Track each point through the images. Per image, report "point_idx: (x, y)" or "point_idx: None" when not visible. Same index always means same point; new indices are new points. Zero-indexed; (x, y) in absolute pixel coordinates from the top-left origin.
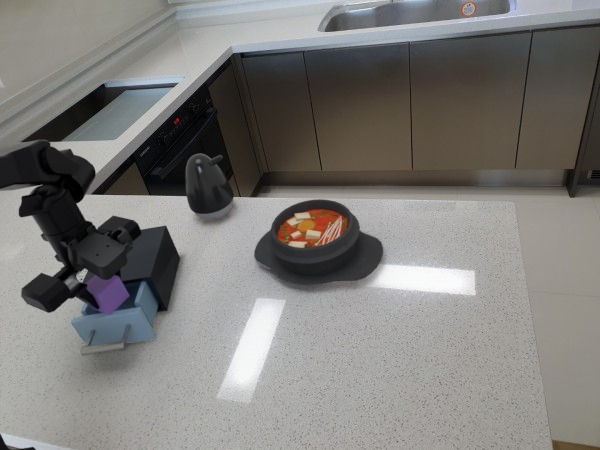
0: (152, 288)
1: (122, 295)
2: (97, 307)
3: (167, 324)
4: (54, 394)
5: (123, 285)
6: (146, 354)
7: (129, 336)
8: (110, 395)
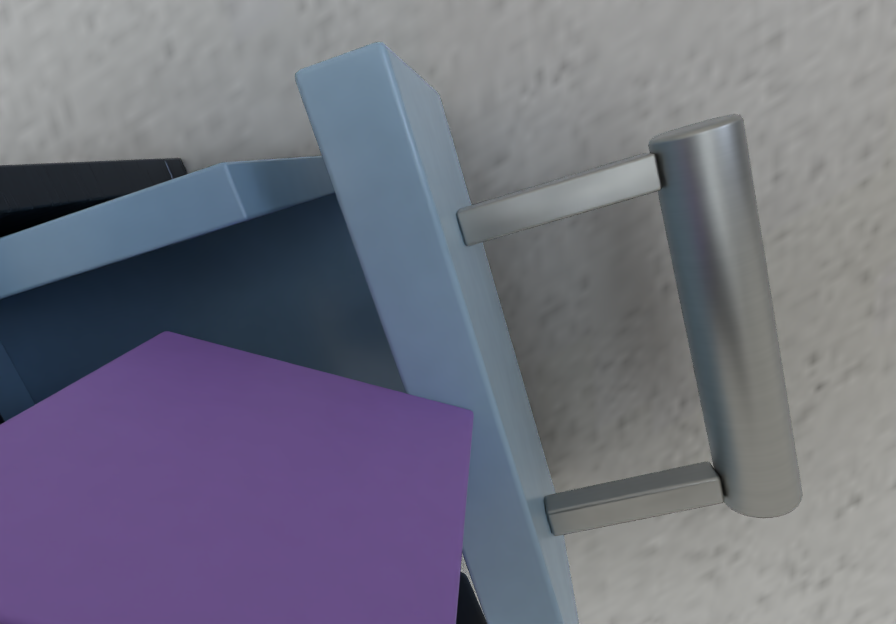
0: (7, 200)
1: (196, 381)
2: (460, 592)
3: (284, 93)
4: (827, 533)
5: (28, 414)
6: (537, 117)
7: (481, 251)
8: (851, 198)
